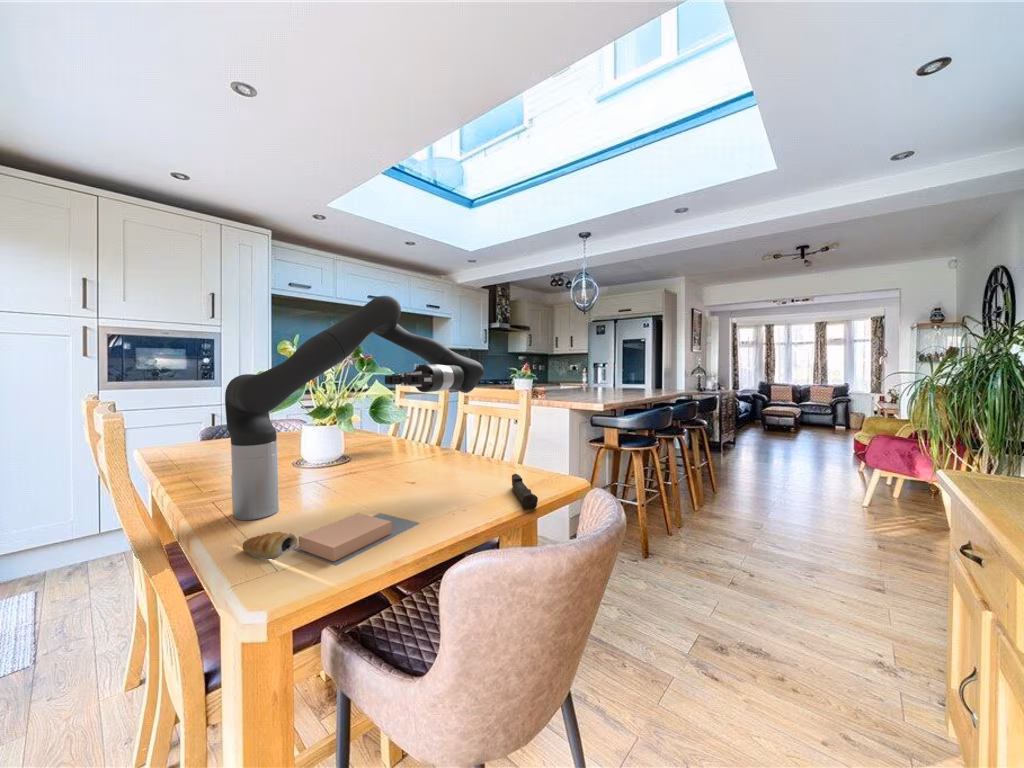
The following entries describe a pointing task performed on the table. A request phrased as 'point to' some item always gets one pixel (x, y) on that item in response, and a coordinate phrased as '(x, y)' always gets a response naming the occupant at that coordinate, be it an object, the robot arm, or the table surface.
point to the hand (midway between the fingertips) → (387, 380)
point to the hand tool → (523, 493)
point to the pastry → (270, 545)
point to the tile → (344, 536)
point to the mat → (396, 528)
